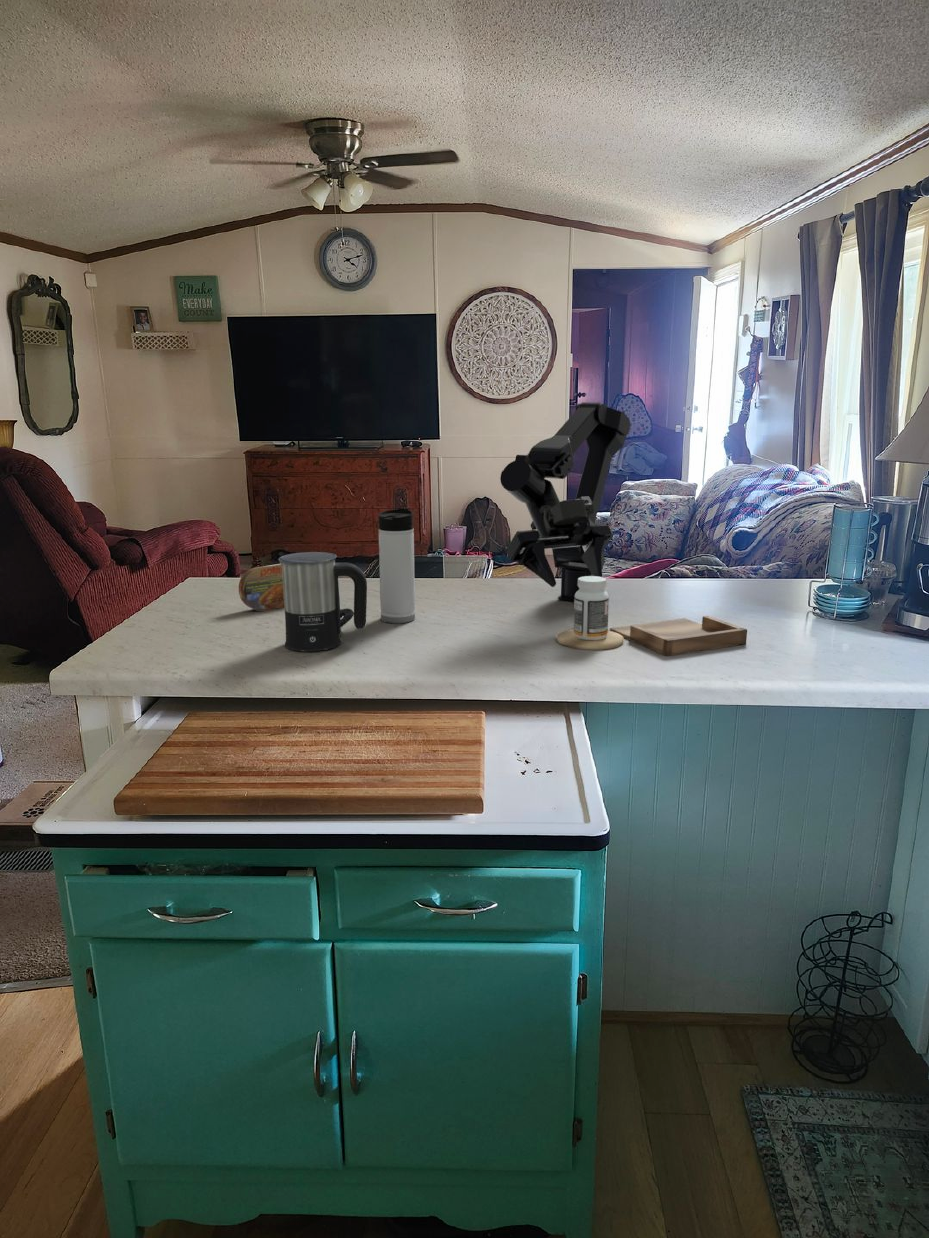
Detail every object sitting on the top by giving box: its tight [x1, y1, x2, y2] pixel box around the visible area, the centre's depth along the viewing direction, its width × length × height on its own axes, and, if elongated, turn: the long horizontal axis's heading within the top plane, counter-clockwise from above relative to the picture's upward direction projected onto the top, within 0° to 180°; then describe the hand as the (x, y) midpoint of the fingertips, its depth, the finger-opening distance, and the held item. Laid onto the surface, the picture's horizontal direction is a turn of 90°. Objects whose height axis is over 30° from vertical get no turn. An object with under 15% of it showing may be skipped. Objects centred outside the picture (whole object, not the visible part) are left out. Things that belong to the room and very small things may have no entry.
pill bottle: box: [573, 576, 610, 640], centre depth 145 cm, size 6×6×10 cm
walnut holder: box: [609, 615, 748, 657], centre depth 148 cm, size 16×16×2 cm
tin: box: [238, 563, 285, 612], centre depth 169 cm, size 15×3×8 cm, turn 129°
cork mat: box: [556, 628, 624, 651], centre depth 146 cm, size 11×11×1 cm
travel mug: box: [377, 507, 416, 624], centre depth 158 cm, size 6×7×20 cm
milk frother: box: [277, 551, 368, 653], centre depth 146 cm, size 14×16×15 cm
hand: (577, 583), depth 149 cm, fingers open, 9 cm apart
